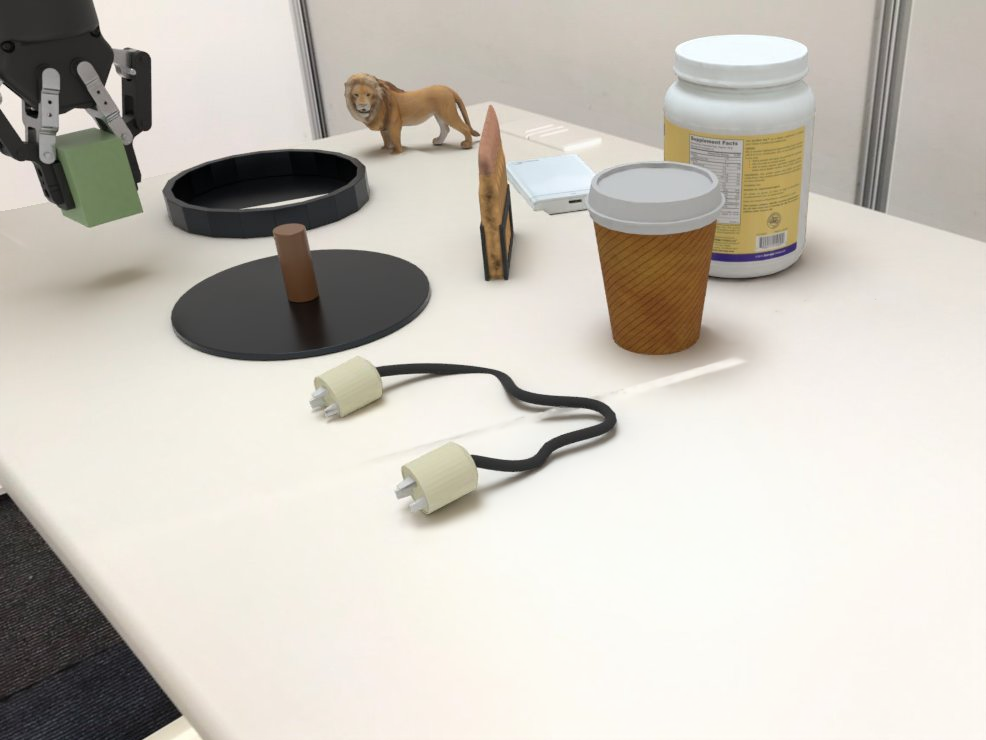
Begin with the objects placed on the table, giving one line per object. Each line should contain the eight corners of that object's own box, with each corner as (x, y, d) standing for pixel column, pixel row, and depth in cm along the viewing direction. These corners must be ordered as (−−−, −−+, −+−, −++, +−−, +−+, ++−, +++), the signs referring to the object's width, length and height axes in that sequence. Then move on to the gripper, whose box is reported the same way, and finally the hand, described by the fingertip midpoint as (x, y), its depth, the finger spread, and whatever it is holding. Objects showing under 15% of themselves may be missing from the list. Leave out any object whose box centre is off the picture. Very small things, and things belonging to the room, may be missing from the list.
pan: (189, 259, 91) (180, 226, 90) (158, 197, 105) (150, 167, 103) (394, 219, 99) (390, 188, 97) (341, 167, 112) (335, 138, 110)
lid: (198, 393, 71) (172, 304, 68) (157, 291, 86) (133, 213, 82) (467, 328, 79) (457, 245, 75) (388, 245, 93) (376, 171, 90)
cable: (504, 346, 77) (500, 302, 75) (639, 439, 66) (638, 391, 64) (301, 413, 69) (291, 366, 67) (416, 531, 58) (408, 480, 56)
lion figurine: (364, 168, 112) (349, 81, 106) (348, 156, 115) (333, 71, 110) (489, 145, 118) (481, 61, 113) (470, 134, 121) (461, 52, 116)
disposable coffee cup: (744, 332, 78) (751, 172, 71) (676, 385, 71) (677, 215, 65) (637, 303, 82) (635, 151, 75) (565, 351, 76) (555, 188, 69)
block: (88, 228, 81) (63, 150, 78) (63, 215, 84) (37, 140, 80) (143, 212, 84) (121, 136, 81) (117, 200, 86) (94, 127, 83)
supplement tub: (688, 222, 97) (690, 28, 87) (818, 237, 93) (835, 36, 84) (643, 272, 87) (639, 60, 78) (785, 291, 84) (800, 71, 74)
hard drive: (502, 162, 107) (533, 199, 98) (578, 152, 110) (615, 188, 100) (503, 178, 108) (534, 216, 99) (578, 168, 111) (616, 205, 101)
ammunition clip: (493, 239, 94) (480, 102, 87) (514, 238, 94) (502, 101, 87) (485, 287, 85) (469, 139, 79) (508, 286, 85) (494, 138, 79)
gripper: (96, -54, 80) (159, 167, 90) (-108, -30, 71) (-15, 213, 81) (144, -47, 76) (204, 185, 85) (-67, -19, 67) (27, 235, 77)
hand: (97, 197), depth 83 cm, fingers closed on block, 4 cm apart
